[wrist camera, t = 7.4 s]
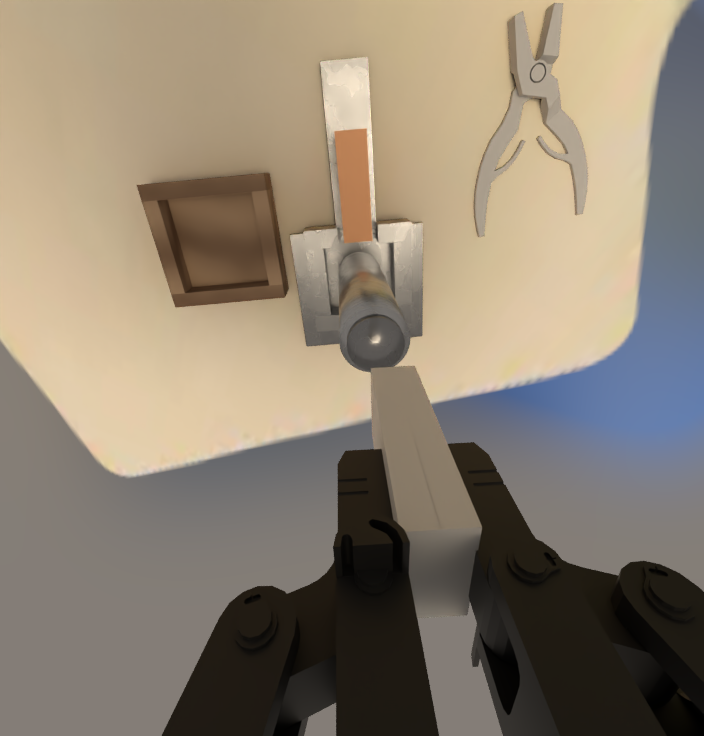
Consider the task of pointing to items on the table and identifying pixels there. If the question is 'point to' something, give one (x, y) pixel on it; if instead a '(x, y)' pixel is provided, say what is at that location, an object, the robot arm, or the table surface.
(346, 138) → the orange rectangular bar
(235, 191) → the tray
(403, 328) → the grey cylindrical peg
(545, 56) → the pliers
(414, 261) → the socket
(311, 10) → the table surface
